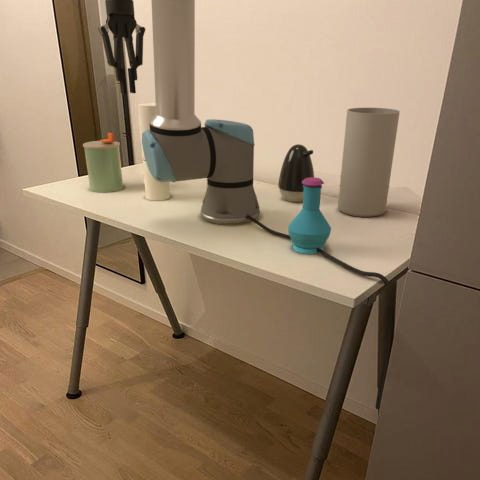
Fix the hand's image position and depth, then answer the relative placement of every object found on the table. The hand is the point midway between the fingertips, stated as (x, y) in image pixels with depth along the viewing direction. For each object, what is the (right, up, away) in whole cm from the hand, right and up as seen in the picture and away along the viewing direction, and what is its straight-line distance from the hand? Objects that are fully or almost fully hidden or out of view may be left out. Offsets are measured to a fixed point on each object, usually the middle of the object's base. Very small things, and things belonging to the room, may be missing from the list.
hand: (128, 93), depth 148 cm
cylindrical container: (+9, -31, -1) cm, 32 cm away
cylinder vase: (+65, -37, -13) cm, 76 cm away
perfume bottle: (+48, -51, -37) cm, 79 cm away
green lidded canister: (-8, -26, +8) cm, 28 cm away
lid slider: (-7, -13, +2) cm, 15 cm away
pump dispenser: (+49, -32, -3) cm, 59 cm away
